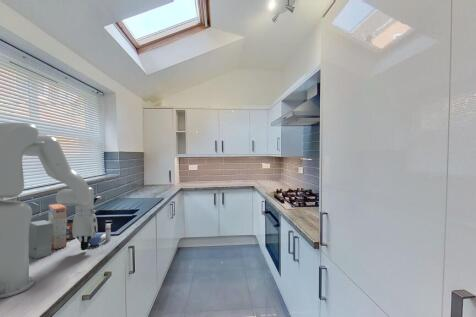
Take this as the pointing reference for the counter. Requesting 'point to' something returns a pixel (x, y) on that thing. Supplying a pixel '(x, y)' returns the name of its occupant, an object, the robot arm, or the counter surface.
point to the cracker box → (58, 225)
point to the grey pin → (108, 232)
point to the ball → (95, 240)
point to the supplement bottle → (69, 229)
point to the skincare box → (40, 238)
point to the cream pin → (103, 236)
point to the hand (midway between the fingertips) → (84, 249)
